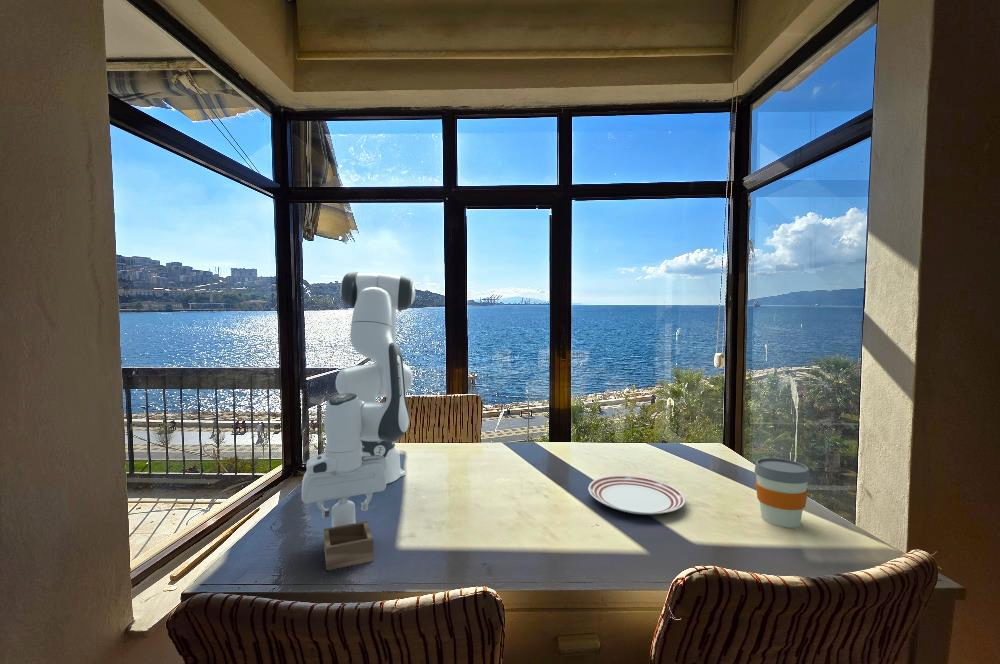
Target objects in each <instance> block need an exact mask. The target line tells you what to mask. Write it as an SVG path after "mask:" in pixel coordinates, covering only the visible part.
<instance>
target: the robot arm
mask: <svg viewBox="0 0 1000 664" xmlns="http://www.w3.org/2000/svg"><path fill="white" fill-rule="evenodd" d="M339 292H340V297H341V300H342V302H343V303H344V304H345V305H346V306H349V307H350V308H351V309H353V313H352V318H351V323H350V325H351V326H350V334H349V337H350V342H351V345H352V347H353V349H354V350H355V351H356V352H357V353H358V354H360V355H361V356H363V357H365V358H367V359H369V360H372V361H374V362H376V363H374V364H373V363H372V364H358V365H353V366H348V367H345V368H342V369H340V371H339V372H338V373H337V375H336V377H335V389H336V391H337V394H335V395H333V396H331V397H330V398H328V400H327V401H326V405H325V410H324V412H325V413H324V434H325V438H326V444H325V447H324V448H325V449H324V450H325V451H324V452H322V453H320V454H318V455H316V456H313V457H311V458H309V459H308V460H307V461H306V471H305V472H304V475H303V478H302V483H301V502H303V503H304V504H307V505H308V504H312V503H313V504H314V503H316V504H317V507H318V509H319V510H320V511H321V517H322V519H326V518H330V514H329V513H330V510H329V507H326V508H325V507H324V505H325V502H324V501H330V500H331V501H332V500H336V499H338V498H343V497H348V498H349V497H355V496H360V495H365V496H366V498H365V500H364V501H362V502H361V503H360V505H361V507H360V508H361V512H364V511H369V503H370V502H371V500H372V498H373V493H379V492H384V490H385V489H386V487H387V484H390V483H394V482H395V481H397V480H398V479H400V478H401V477H403V476H405V475H406V471H405V470H404V469H402V467H401V459H400V451H398V450H397V449H396V448H395V447H396V442H397V441H398V440H400V439H401V438H402V437H403V436H404V435H405V434H406V433H407V432H408V430H409V427H410V415H409V410H408V404H407V399H406V398H407V397H406V392H408V391H409V390H410V389H411V387H412V386H413V382H414V376H413V371H412V369H411V368H410V367H409V365H407V364H406V363H405V362H403V355H402V351H401V347H400V346H399V345H398V344H396V340H397V339H396V338H397V337H396V334H397V333H396V332H397V311H398V312H399V313H400V312H402V311H405V310H406V311H407V310H409V309H410V308H411V307H412V305H413V303H414V301H415V299H416V287H415V285H414V281H413V280H412V279H411V278H410V277H407V276H403V275H400V276H399V275H394V274H389V273H383V272H382V273H381V272H378V273H376V272H357V271H355V272H354V271H353V272H347V274H345V275H344V276H343V278H342V281H341V282H340V285H339ZM378 397H386V401H384V402H377V398H378Z"/></svg>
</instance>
